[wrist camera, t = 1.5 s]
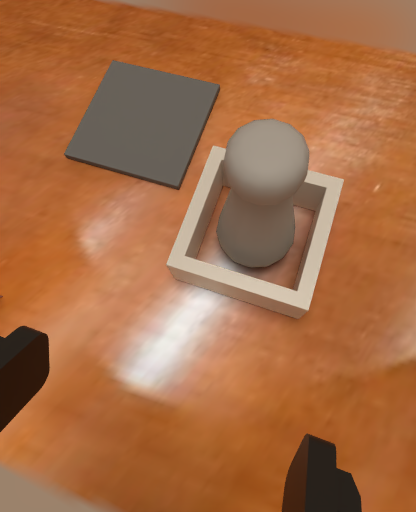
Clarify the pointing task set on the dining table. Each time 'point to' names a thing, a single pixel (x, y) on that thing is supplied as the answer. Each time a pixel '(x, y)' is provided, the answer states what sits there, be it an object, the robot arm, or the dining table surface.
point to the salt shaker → (261, 191)
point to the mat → (144, 123)
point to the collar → (239, 285)
